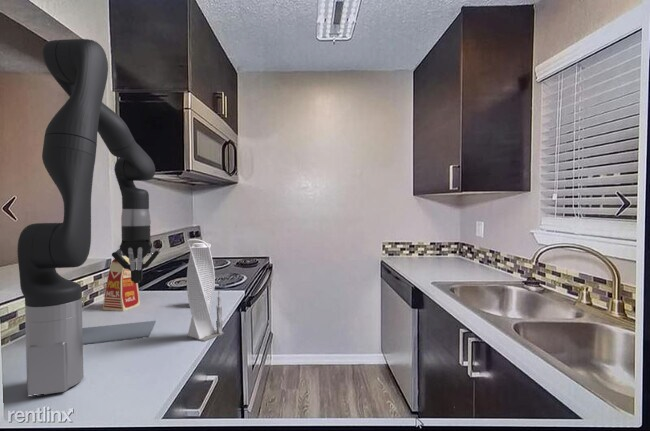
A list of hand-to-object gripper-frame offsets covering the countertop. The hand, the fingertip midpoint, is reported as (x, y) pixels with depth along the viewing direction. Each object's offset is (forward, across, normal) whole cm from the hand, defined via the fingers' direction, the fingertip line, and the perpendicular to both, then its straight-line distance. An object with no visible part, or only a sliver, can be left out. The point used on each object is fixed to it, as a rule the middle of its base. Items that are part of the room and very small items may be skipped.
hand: (137, 282), depth 103 cm
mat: (+14, -8, 0) cm, 17 cm away
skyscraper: (+15, +18, -11) cm, 26 cm away
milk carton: (+15, -10, +30) cm, 35 cm away
